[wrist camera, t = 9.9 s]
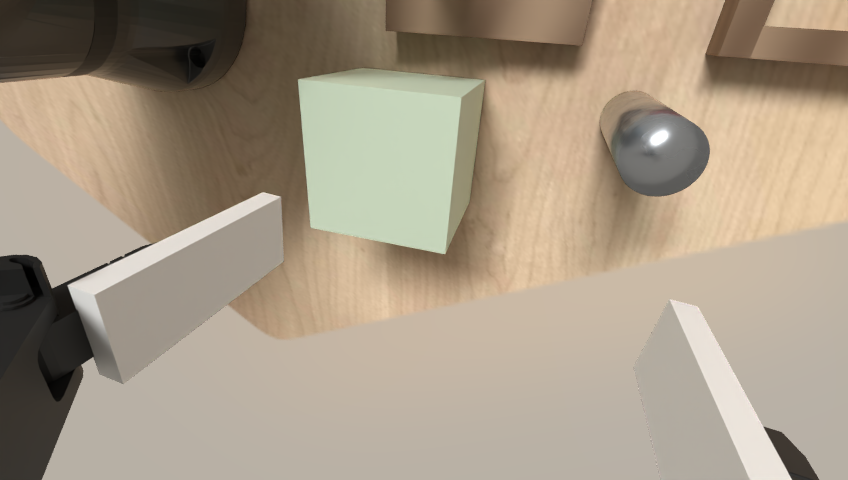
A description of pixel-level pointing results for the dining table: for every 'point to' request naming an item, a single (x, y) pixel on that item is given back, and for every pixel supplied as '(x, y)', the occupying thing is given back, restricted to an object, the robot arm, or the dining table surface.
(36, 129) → the dining table surface
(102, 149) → the dining table surface
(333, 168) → the pale green cube
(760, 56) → the square hole block
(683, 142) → the peg
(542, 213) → the dining table surface
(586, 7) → the board
